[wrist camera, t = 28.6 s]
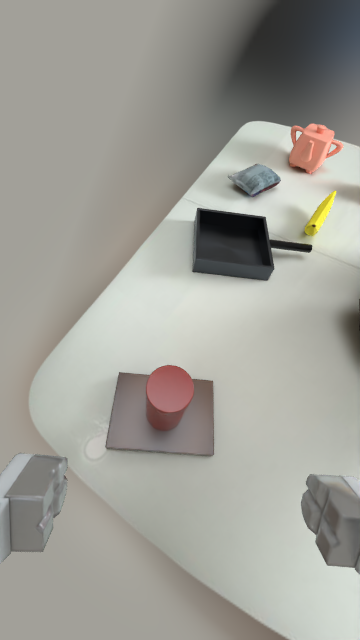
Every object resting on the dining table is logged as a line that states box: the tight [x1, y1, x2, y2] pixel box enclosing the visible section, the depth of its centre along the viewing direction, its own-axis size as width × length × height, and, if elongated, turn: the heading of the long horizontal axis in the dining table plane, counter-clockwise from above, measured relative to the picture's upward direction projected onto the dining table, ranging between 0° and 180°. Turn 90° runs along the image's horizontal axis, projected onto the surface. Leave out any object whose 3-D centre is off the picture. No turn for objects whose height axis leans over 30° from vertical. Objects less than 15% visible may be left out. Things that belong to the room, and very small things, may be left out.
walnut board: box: [106, 372, 214, 456], centre depth 38 cm, size 14×10×2 cm
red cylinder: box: [146, 365, 194, 431], centre depth 32 cm, size 5×5×11 cm
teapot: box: [289, 124, 343, 174], centre depth 75 cm, size 14×12×10 cm
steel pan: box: [193, 208, 312, 280], centre depth 56 cm, size 24×15×4 cm, turn 87°
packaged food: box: [228, 164, 281, 197], centre depth 68 cm, size 9×12×5 cm
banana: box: [304, 191, 336, 236], centre depth 62 cm, size 3×19×6 cm, turn 146°
